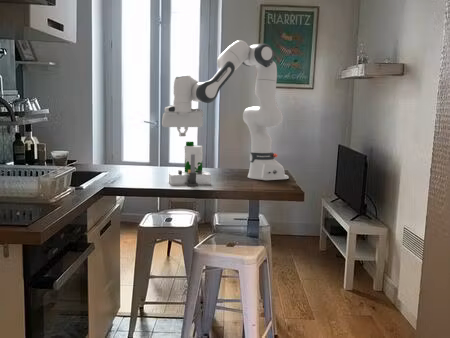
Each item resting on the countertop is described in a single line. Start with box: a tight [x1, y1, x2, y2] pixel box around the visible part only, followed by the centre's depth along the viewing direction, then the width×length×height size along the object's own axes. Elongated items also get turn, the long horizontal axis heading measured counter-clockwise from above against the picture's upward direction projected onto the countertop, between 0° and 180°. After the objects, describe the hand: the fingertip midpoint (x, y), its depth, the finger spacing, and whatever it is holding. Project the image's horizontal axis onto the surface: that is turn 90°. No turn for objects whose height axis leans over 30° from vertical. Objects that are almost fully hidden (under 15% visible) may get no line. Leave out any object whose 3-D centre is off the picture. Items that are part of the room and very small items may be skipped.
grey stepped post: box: [186, 154, 199, 188], centre depth 244 cm, size 5×5×16 cm
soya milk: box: [184, 141, 204, 172], centre depth 262 cm, size 9×9×20 cm
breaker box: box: [168, 169, 212, 186], centre depth 252 cm, size 20×8×7 cm, turn 105°
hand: (182, 136), depth 248 cm, fingers closed
